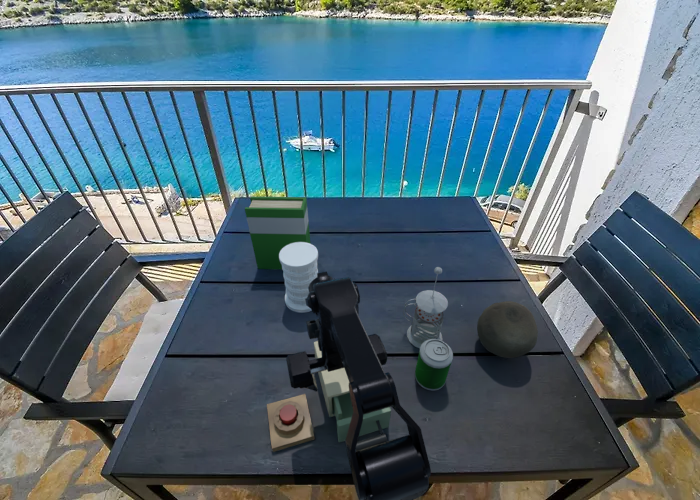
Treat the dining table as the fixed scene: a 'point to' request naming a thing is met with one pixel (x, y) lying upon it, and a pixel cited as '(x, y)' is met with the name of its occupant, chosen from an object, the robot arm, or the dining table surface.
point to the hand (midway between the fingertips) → (338, 383)
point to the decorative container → (298, 273)
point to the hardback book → (276, 227)
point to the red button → (288, 414)
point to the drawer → (369, 424)
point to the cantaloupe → (507, 329)
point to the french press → (427, 315)
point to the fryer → (332, 383)
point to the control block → (293, 432)
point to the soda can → (433, 364)
